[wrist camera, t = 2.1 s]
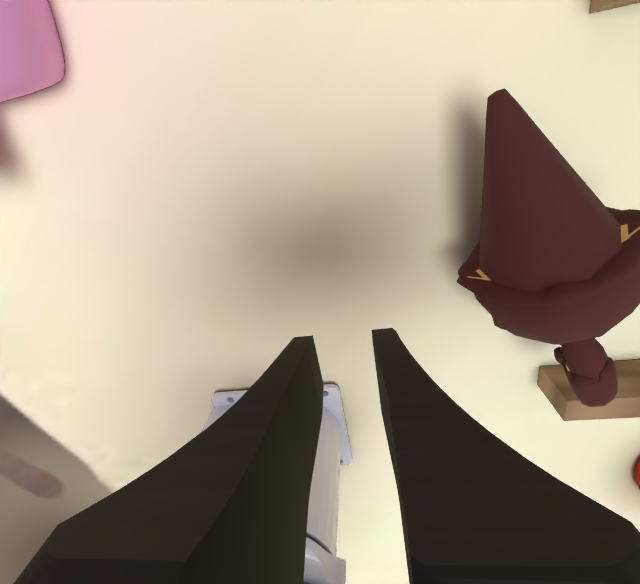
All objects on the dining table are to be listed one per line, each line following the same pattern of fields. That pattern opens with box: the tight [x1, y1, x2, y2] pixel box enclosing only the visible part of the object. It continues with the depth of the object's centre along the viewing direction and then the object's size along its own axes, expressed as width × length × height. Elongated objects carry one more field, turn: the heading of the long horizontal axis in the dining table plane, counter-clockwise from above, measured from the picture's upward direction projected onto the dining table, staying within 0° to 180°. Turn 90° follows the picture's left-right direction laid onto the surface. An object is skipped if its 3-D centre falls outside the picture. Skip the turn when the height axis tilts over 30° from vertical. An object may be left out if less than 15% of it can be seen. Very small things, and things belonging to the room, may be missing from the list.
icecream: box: [457, 89, 640, 407], centre depth 14 cm, size 7×7×15 cm
